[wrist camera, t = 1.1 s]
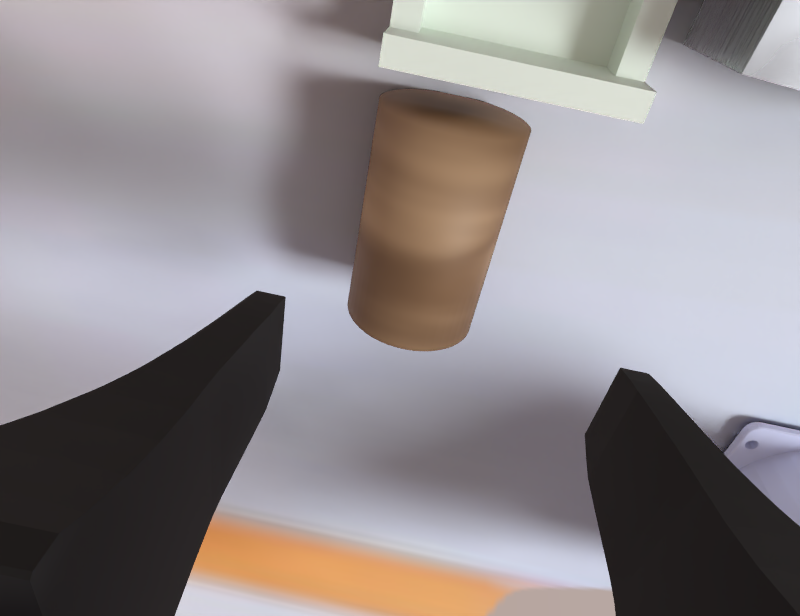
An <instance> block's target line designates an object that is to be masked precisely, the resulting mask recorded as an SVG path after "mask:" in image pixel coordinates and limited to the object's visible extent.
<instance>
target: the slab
mask: <svg viewBox="0 0 800 616" xmlns="http://www.w3.org/2000/svg"><path fill="white" fill-rule="evenodd" d="M683 45H685V46H687V47H689V48H691V49H693V50H695V51H697V52H699V53H701V54H703V55H705V56H707V57H709V58H711V59H713V60H715V61H717V62H719V63H720V64H722V65H724V66H726V67H728V68H730V69H732V70H734V71H736V72H738V73H740V74H742V75H746V76H749V77H753V78H756V79H760V80H763V81H767V82H771V83H774V84H778V85H781V86H785V87H788V88H792V89H795V90H799V91H800V0H704V2H703V4H702V6H701V8H700V10H699V13H698V15H697V17H696V19H695V21H694V23H693V25H692V27H691V29H690V31H689V33H688V35H687V37H686V39H685V42H684V44H683Z"/></svg>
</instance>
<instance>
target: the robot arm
mask: <svg viewBox="0 0 800 616" xmlns="http://www.w3.org/2000/svg"><path fill="white" fill-rule="evenodd" d="M284 309H285V297H284V296H279V295H275V294H270V293H265V292H261V291H256V292H254V293H253V294H251V295H250V296H248V297H247V298H245V299H244V300H243V301H241V302H240V303H239V304H237V305H236V306H234V307H233V308H232V309H230V310H229V311H228V312H226V313H225V314H223V315H222V316H221V317H219V318H218V319H216V320H215V321H214V322H212V323H211V324H209V325H208V326H206V327H205V328H203V329H202V330H200V331H199V332H197V333H196V334H194V335H193V336H191V337H190V338H188V339H187V340H185V341H184V342H182V343H181V344H179V345H177V346H176V347H174V348H172V349H171V350H169V351H167V352H166V353H164V354H162V355H161V356H159V357H157V358H156V359H154V360H152V361H151V362H149V363H147V364H145V365H144V366H142V367H140V368H138V369H136V370H134V371H132V372H130V373H129V374H127V375H124V376H122V377H120V378H118V379H116V380H114V381H112V382H110V383H108V384H106V385H104V386H102V387H99V388H97V389H95V390H93V391H90V392H88V393H85V394H83V395H80V396H78V397H76V398H73V399H71V400H68V401H66V402H63V403H61V404H58V405H56V406H53V407H51V408H49V409H46V410H44V411H41V412H38V413H35V414H33V415H30V416H27V417H24V418H21V419H18V420H15V421H12V422H10V423H7V424H3V425H0V616H175V613H176V610H177V607H178V605H179V602H180V599H181V597H182V594H183V591H184V589H185V586H186V583H187V581H188V578H189V575H190V573H191V570H192V567H193V565H194V562H195V560H196V557H197V554H198V552H199V549H200V547H201V544H202V542H203V539H204V537H205V534H206V531H207V529H208V526H209V524H210V521H211V519H212V516H213V514H214V512H215V510H216V508H217V505H218V503H219V501H220V499H221V497H222V495H223V493H224V491H225V489H226V487H227V485H228V483H229V481H230V479H231V477H232V475H233V473H234V471H235V469H236V467H237V465H238V464H239V462H240V460H241V458H242V456H243V454H244V452H245V450H246V448H247V446H248V444H249V442H250V440H251V438H252V436H253V434H254V432H255V430H256V428H257V426H258V424H259V422H260V420H261V418H262V416H263V414H264V412H265V410H266V408H267V405H268V402H269V399H270V397H271V394H272V391H273V388H274V386H275V383H276V380H277V377H278V374H279V371H280V362H281V349H282V336H283V323H284ZM748 441H750V442H748ZM585 444H586V460H587V471H588V480H589V485H590V490H591V494H592V499H593V504H594V508H595V513H596V517H597V522H598V526H599V531H600V535H601V540H602V544H603V549H604V553H605V557H606V562H607V566H608V571H609V575H610V580H611V586H612V591H613V597H614V603H615V611H616V616H800V430H795V429H790V428H786V427H781V426H776V425H771V424H767V423H762V422H753V423H749V424H747V425H746V426H745V427H744V428H743V429H742V430H741V431H740V433H739V434H738V435H737V437H736V438H735V439H734V441H733V442H732V443H731V445H730V446H729V447H728V449H727V450H726V451H725V453H724V454H723V453H722V452H721V451H720V450H719V448H718V447H717V446H716V445H715V444H714V443H713V442H712V441H711V440H710V439H709V438H708V437H707V436H706V435H705V433H704V432H703V431H702V430H701V429H700V428H699V427H698V426H697V425H696V424H695V423H694V421H693V420H692V419H691V418H690V417H689V416H688V415H687V414H686V413H685V411H684V410H683V409H682V408H681V407H680V406H679V405H678V404H677V403H676V402H675V400H674V399H673V398H672V397H671V396H670V395H669V394H668V393H667V392H666V391H665V390H664V389H663V388H662V386H661V385H660V384H659V383H658V382H657V381H656V380H655V379H654V378H653V377H651V376H650V375H649V374H647V373H643V372H638V371H633V370H629V369H624V368H620V369H619V371H618V373H617V375H616V377H615V379H614V381H613V382H612V384H611V386H610V388H609V390H608V392H607V394H606V396H605V398H604V399H603V401H602V403H601V405H600V407H599V409H598V411H597V413H596V415H595V416H594V418H593V420H592V422H591V424H590V426H589V428H588V430H587V432H586V433H585Z"/></svg>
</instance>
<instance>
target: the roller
mask: <svg viewBox="0 0 800 616" xmlns="http://www.w3.org/2000/svg"><path fill="white" fill-rule="evenodd" d="M530 133H531V128H530V126H529V125H528V124H527V123H526V122H525V121H524V120H523V119H521V118H520V117H518V116H516V115H515V114H513V113H511V112H509V111H506V110H504V109H502V108H499V107H497V106H494V105H492V104H489V103H486V102H483V101H479V100H476V99H471V98H467V97H462V96H457V95H453V94H448V93H443V92H439V91H432V90H422V89H397V90H391V91H387V92H385V93H383V94H381V95H380V97H379V103H378V109H377V116H376V122H375V129H374V135H373V142H372V148H371V155H370V161H369V168H368V174H367V181H366V188H365V194H364V201H363V207H362V214H361V220H360V227H359V233H358V240H357V246H356V253H355V259H354V266H353V272H352V279H351V285H350V292H349V298H348V310H349V314H350V316H351V318H352V319H353V321H354V322H355V323H356V325H357V326H358V327H359V328H360V329H362V330H363V331H364V332H365V333H367V334H368V335H370V336H371V337H373V338H375V339H377V340H379V341H381V342H383V343H385V344H388V345H391V346H394V347H397V348H402V349H407V350H413V351H435V350H441V349H446V348H449V347H451V346H454V345H456V344H458V343H459V342H460V341H462V340H463V339H464V338H465V337H466V335H467V334H468V332H469V328H470V325H471V322H472V319H473V316H474V312H475V309H476V306H477V303H478V300H479V296H480V293H481V290H482V287H483V284H484V280H485V277H486V274H487V271H488V267H489V264H490V261H491V258H492V255H493V251H494V248H495V245H496V242H497V239H498V235H499V232H500V229H501V226H502V223H503V219H504V216H505V213H506V210H507V206H508V203H509V200H510V197H511V194H512V190H513V187H514V184H515V181H516V178H517V174H518V171H519V168H520V165H521V162H522V158H523V155H524V152H525V149H526V146H527V142H528V139H529V136H530Z"/></svg>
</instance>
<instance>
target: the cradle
mask: <svg viewBox="0 0 800 616" xmlns="http://www.w3.org/2000/svg"><path fill="white" fill-rule="evenodd" d="M677 1H678V0H393V7H392V13H391V20H390V26H389V28H388V29H387V30H386V31H385V32H384V33H383V39H382V46H381V53H380V59H379V66H378V67H382V68H387V69H391V70H396V71H400V72H405V73H410V74H414V75H419V76H424V77H428V78H433V79H437V80H442V81H447V82H451V83H456V84H461V85H465V86H470V87H474V88H479V89H484V90H488V91H493V92H498V93H502V94H507V95H511V96H516V97H521V98H525V99H530V100H535V101H539V102H544V103H548V104H553V105H558V106H562V107H567V108H572V109H576V110H581V111H585V112H590V113H595V114H599V115H604V116H609V117H613V118H618V119H622V120H627V121H632V122H636V123H641V124H644V121H645V119H646V117H647V114H648V112H649V109H650V107H651V105H652V102H653V100H654V98H655V95H656V93H657V92H656V91H655V90H653V89H652V88H651V87H650V86H649V85H647V84H646V83H645V80H646V77H647V75H648V73H649V70H650V68H651V65H652V63H653V60H654V58H655V55H656V53H657V50H658V48H659V46H660V43H661V41H662V38H663V36H664V33H665V31H666V28H667V26H668V23H669V21H670V18H671V16H672V14H673V11H674V9H675V6H676V4H677Z"/></svg>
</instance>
